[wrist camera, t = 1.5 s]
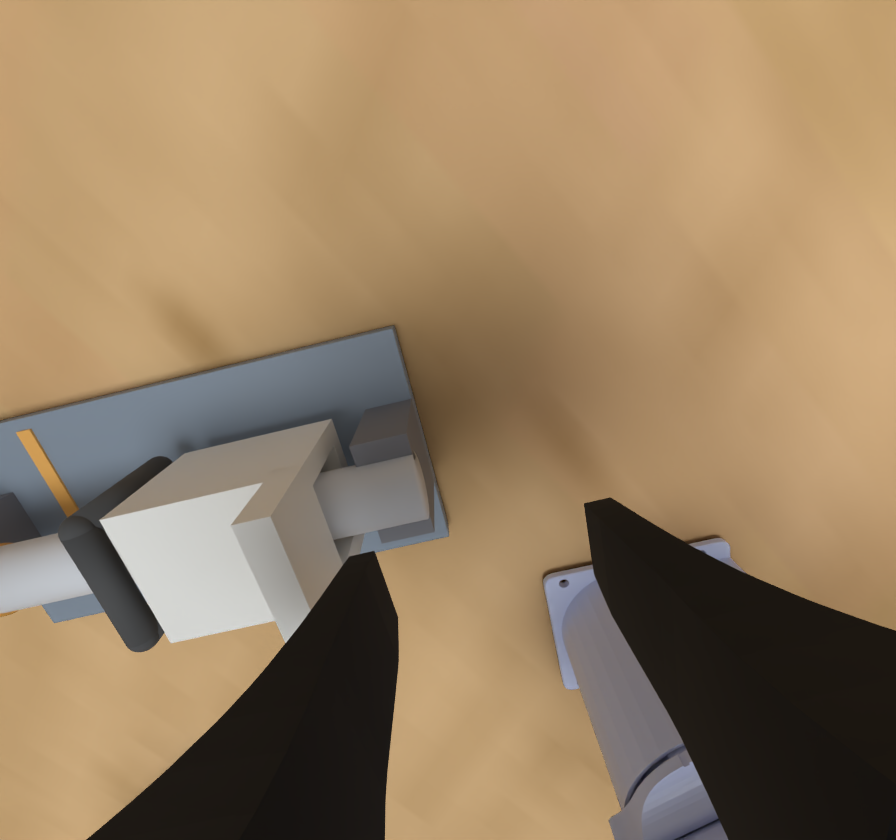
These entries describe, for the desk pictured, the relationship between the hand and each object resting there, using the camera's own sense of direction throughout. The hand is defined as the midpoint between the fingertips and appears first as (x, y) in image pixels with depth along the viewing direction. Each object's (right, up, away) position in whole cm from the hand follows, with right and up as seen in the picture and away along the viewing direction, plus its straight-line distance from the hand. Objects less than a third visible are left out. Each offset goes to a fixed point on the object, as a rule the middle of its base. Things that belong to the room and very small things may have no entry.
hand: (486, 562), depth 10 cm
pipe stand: (-12, 0, +11) cm, 16 cm away
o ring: (-12, 0, +8) cm, 14 cm away
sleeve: (-8, 0, +8) cm, 11 cm away
